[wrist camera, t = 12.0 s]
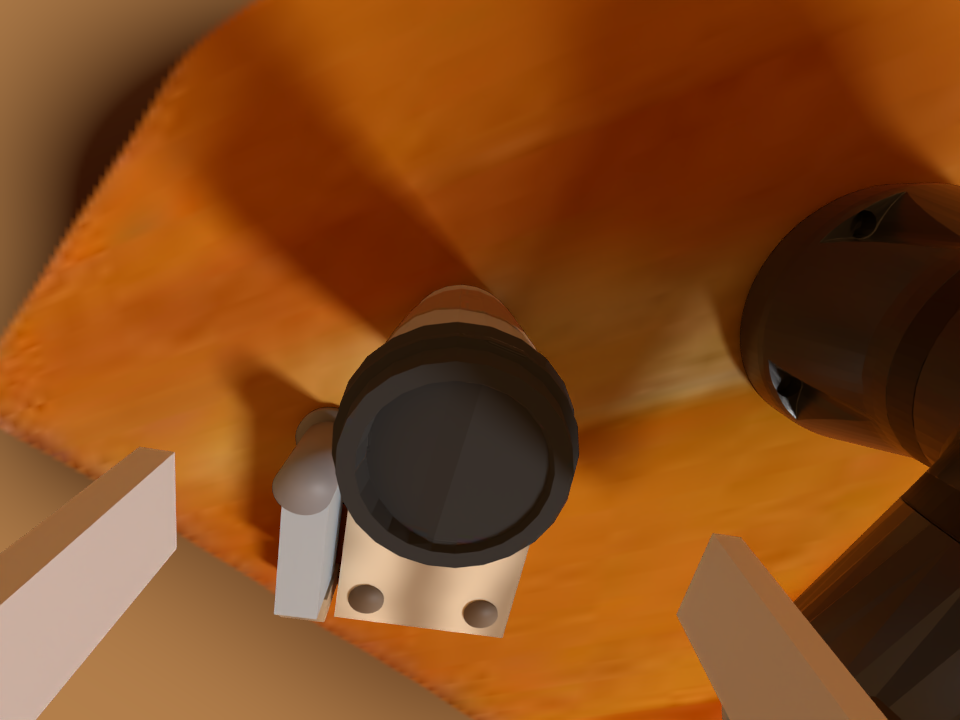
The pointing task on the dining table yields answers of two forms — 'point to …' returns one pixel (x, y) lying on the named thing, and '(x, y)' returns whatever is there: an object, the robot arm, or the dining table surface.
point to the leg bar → (307, 524)
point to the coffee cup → (455, 435)
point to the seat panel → (416, 582)
